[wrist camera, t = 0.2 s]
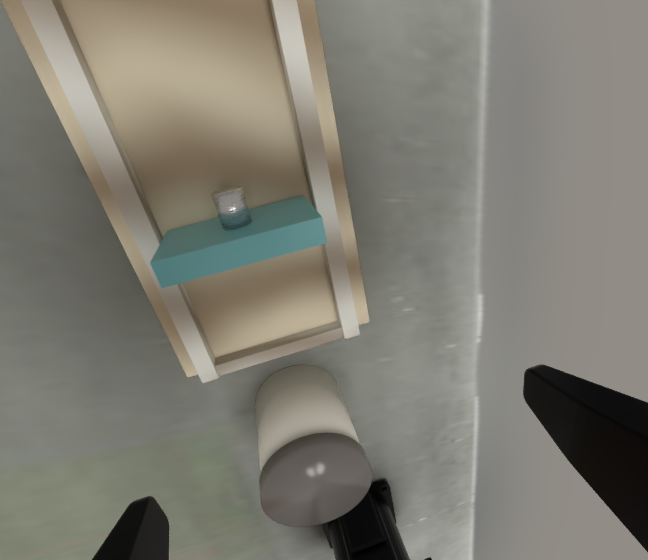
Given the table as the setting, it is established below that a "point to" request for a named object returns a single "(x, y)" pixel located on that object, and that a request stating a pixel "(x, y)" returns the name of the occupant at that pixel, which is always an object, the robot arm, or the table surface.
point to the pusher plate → (236, 237)
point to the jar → (307, 449)
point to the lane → (207, 156)
